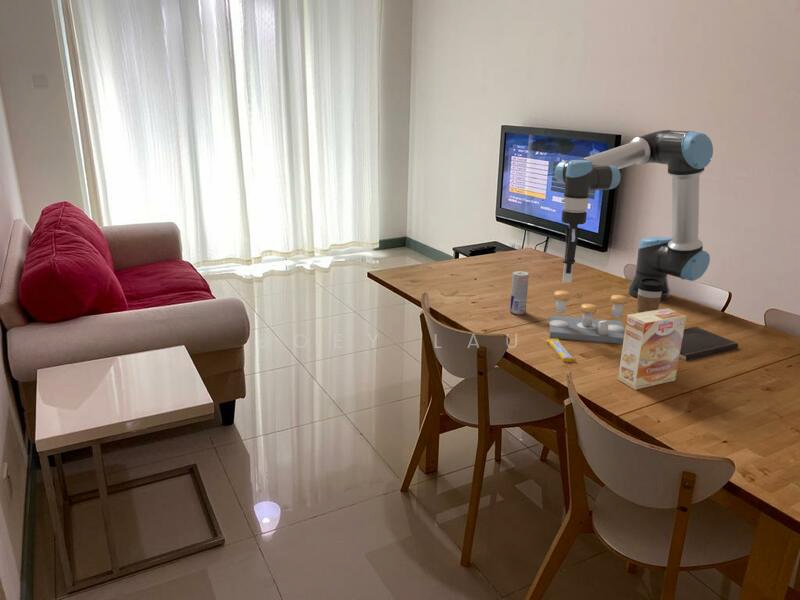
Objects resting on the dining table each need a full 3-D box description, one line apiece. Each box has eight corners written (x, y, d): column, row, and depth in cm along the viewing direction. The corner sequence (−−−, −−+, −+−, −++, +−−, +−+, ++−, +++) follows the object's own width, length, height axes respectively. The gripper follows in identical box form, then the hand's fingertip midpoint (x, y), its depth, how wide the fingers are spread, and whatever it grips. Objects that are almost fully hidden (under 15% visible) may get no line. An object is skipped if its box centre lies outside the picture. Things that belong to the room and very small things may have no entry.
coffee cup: (658, 319, 217) (665, 279, 212) (657, 327, 210) (664, 285, 205) (633, 316, 221) (639, 276, 216) (631, 323, 213) (637, 282, 208)
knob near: (623, 314, 204) (626, 295, 201) (625, 319, 199) (628, 300, 197) (608, 313, 205) (610, 294, 202) (609, 318, 200) (612, 298, 198)
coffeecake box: (635, 390, 165) (645, 322, 159) (616, 379, 172) (625, 313, 165) (676, 381, 171) (688, 315, 165) (657, 370, 177) (667, 307, 171)
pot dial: (602, 331, 200) (603, 318, 199) (609, 334, 198) (610, 321, 196) (595, 333, 199) (596, 320, 197) (602, 336, 197) (603, 323, 195)
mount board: (621, 326, 211) (622, 320, 210) (627, 344, 196) (628, 337, 195) (548, 320, 215) (549, 314, 215) (549, 337, 201) (549, 331, 200)
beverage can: (528, 312, 223) (531, 272, 218) (520, 316, 219) (523, 275, 214) (515, 308, 227) (518, 269, 222) (507, 312, 223) (509, 272, 218)
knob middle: (594, 322, 207) (596, 304, 204) (595, 328, 202) (597, 309, 200) (578, 321, 208) (580, 303, 205) (579, 326, 203) (581, 308, 201)
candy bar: (577, 364, 182) (577, 358, 181) (563, 364, 182) (564, 359, 181) (558, 342, 198) (558, 337, 197) (545, 343, 197) (546, 337, 197)
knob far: (567, 309, 207) (569, 291, 205) (568, 314, 202) (570, 295, 200) (552, 308, 208) (554, 290, 206) (552, 313, 203) (554, 294, 201)
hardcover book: (644, 343, 198) (645, 337, 197) (694, 332, 207) (696, 326, 207) (685, 362, 184) (686, 355, 183) (737, 350, 194) (738, 343, 193)
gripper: (561, 206, 201) (554, 275, 208) (563, 213, 189) (555, 286, 196) (585, 207, 199) (577, 277, 207) (588, 214, 187) (580, 288, 195)
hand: (566, 281), depth 201 cm, fingers closed
